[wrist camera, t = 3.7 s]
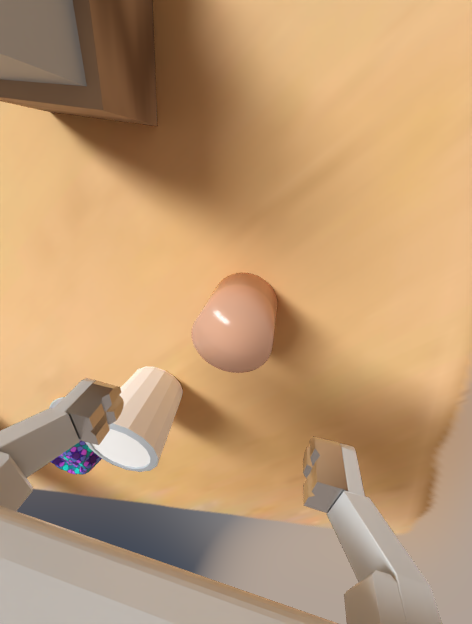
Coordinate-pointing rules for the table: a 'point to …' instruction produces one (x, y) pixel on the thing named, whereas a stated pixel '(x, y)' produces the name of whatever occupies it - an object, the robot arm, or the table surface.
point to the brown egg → (237, 324)
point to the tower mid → (40, 42)
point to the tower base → (103, 66)
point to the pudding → (76, 456)
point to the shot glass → (142, 420)
